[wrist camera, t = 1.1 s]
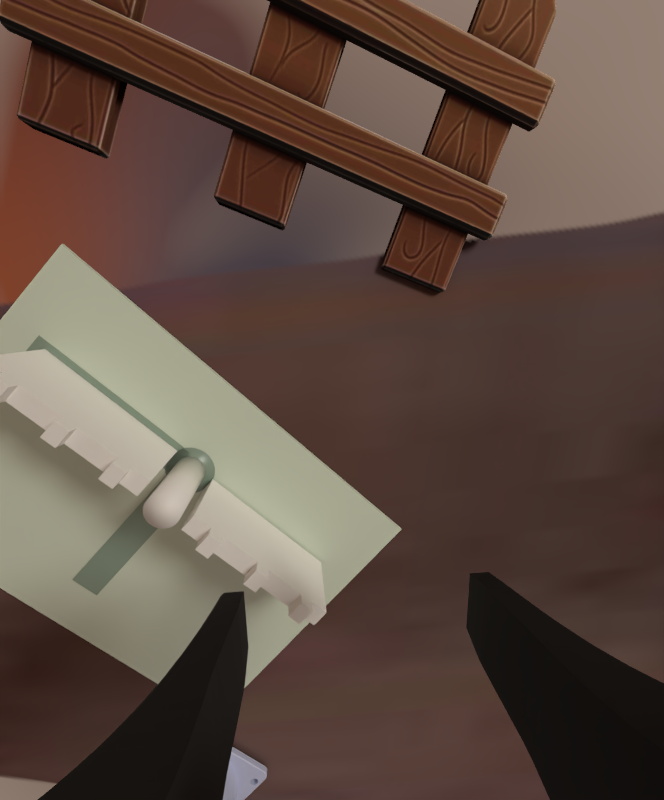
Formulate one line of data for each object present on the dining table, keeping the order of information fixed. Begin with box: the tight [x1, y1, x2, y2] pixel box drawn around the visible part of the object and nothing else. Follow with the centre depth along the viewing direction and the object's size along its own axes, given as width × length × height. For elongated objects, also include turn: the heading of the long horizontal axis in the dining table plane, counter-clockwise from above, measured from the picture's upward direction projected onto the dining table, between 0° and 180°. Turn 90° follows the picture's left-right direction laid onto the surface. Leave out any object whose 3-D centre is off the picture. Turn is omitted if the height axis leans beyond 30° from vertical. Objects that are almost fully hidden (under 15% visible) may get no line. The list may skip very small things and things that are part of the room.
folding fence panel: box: [181, 479, 327, 625], centre depth 20 cm, size 8×1×5 cm, turn 47°
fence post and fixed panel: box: [0, 349, 205, 529], centre depth 18 cm, size 2×10×5 cm, turn 47°
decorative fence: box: [0, 0, 556, 292], centre depth 18 cm, size 23×2×15 cm
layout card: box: [0, 244, 401, 688], centre depth 21 cm, size 17×23×1 cm
